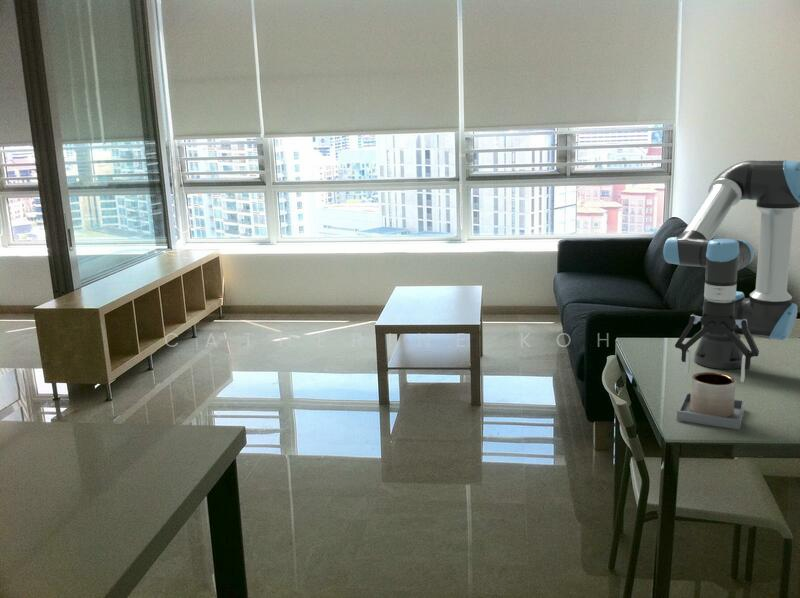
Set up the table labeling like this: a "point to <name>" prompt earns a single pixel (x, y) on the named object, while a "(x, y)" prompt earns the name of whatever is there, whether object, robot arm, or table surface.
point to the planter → (712, 394)
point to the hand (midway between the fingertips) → (714, 377)
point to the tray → (730, 422)
